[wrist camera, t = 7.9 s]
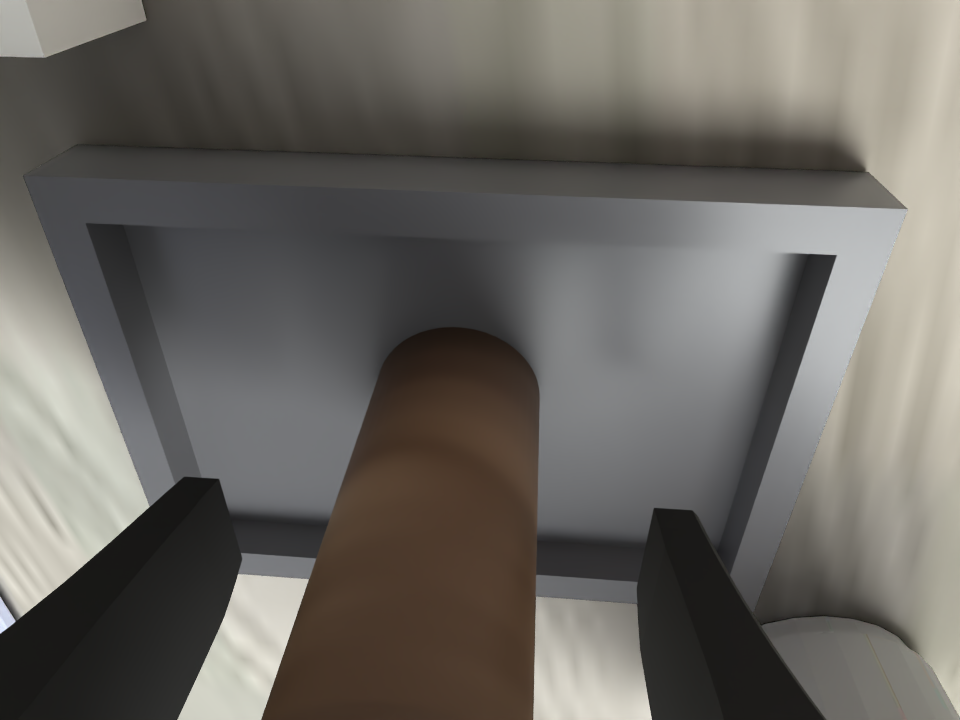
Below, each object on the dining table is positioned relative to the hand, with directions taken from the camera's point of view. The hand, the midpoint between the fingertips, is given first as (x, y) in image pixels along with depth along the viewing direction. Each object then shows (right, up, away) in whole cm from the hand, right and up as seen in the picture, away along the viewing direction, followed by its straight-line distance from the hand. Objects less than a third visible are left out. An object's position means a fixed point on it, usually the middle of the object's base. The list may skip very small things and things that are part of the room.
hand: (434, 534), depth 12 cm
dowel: (0, +2, +3) cm, 4 cm away
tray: (0, +2, +3) cm, 4 cm away
